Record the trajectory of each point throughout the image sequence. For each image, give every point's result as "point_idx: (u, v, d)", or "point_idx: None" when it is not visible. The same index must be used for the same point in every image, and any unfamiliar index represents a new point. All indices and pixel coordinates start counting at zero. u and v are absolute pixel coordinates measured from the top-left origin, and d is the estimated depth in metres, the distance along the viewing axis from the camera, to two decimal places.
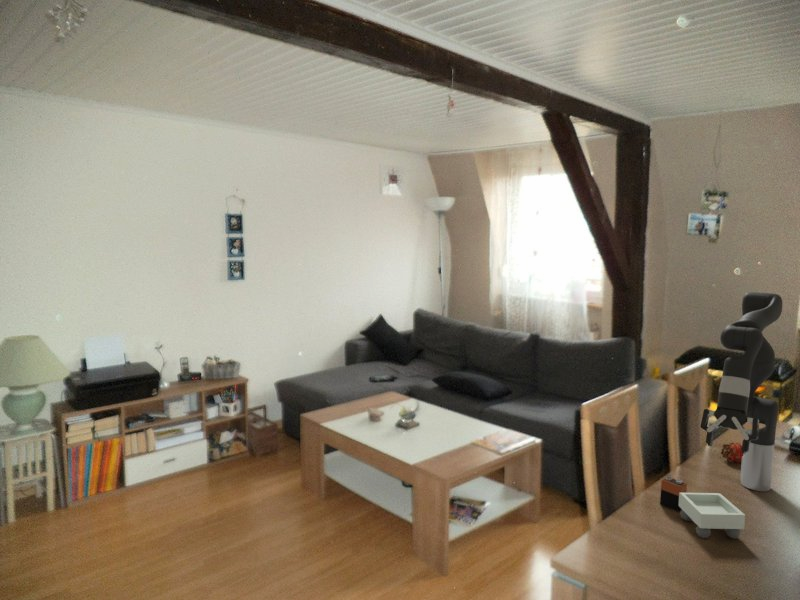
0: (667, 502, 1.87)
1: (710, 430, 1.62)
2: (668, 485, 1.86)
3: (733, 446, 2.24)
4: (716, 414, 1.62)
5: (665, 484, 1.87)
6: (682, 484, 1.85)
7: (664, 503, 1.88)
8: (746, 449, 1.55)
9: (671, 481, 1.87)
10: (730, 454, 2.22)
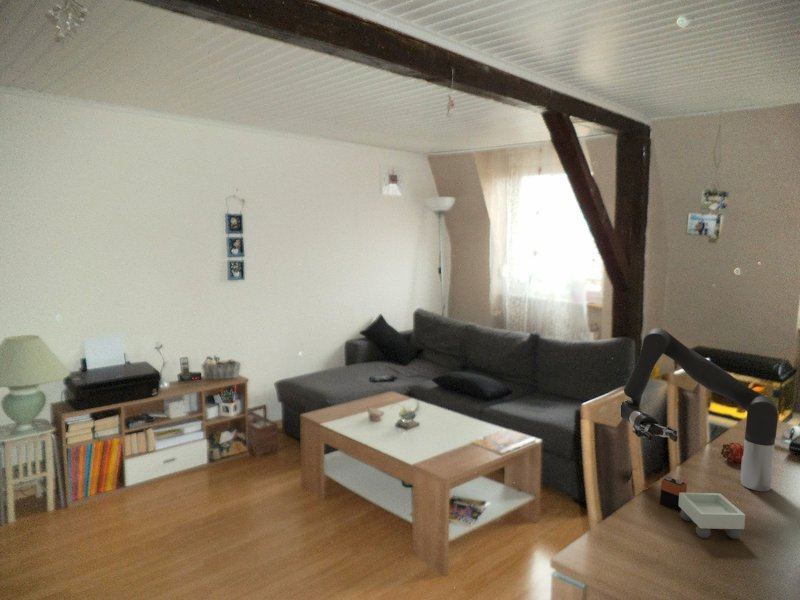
0: (667, 502, 1.87)
1: (669, 437, 2.00)
2: (668, 485, 1.86)
3: (733, 446, 2.24)
4: None
5: (665, 484, 1.87)
6: (682, 484, 1.85)
7: (664, 503, 1.88)
8: None
9: (671, 481, 1.87)
10: (730, 454, 2.22)
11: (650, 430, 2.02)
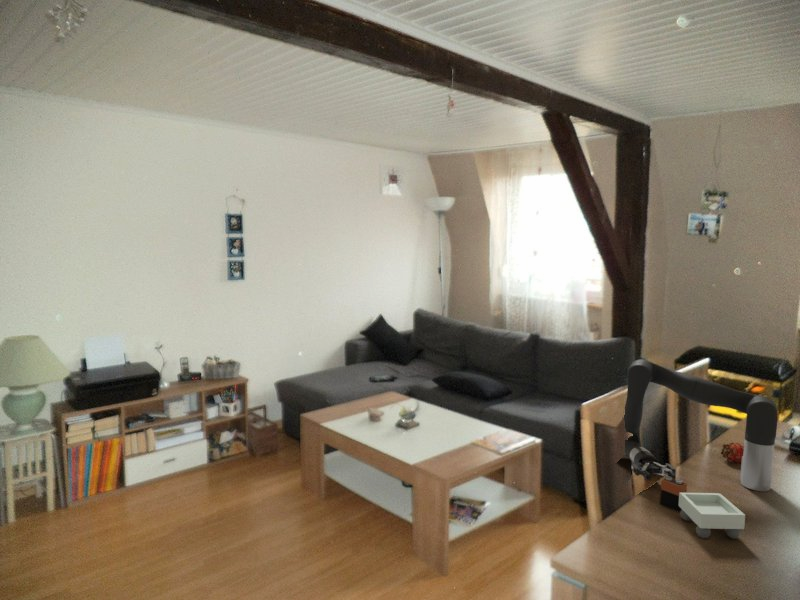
0: (667, 502, 1.87)
1: None
2: (668, 485, 1.86)
3: (733, 446, 2.24)
4: None
5: (665, 484, 1.87)
6: (682, 484, 1.85)
7: (664, 503, 1.88)
8: None
9: (671, 481, 1.87)
10: (730, 454, 2.22)
11: (649, 468, 2.03)
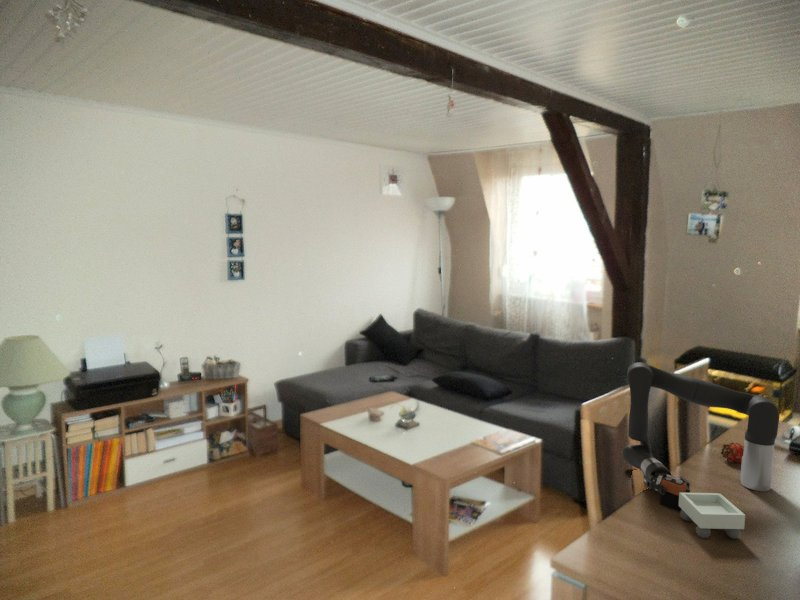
0: (667, 502, 1.87)
1: None
2: (668, 485, 1.86)
3: (733, 446, 2.24)
4: None
5: (665, 484, 1.87)
6: (682, 484, 1.85)
7: (664, 503, 1.88)
8: None
9: (671, 481, 1.87)
10: (730, 454, 2.22)
11: None
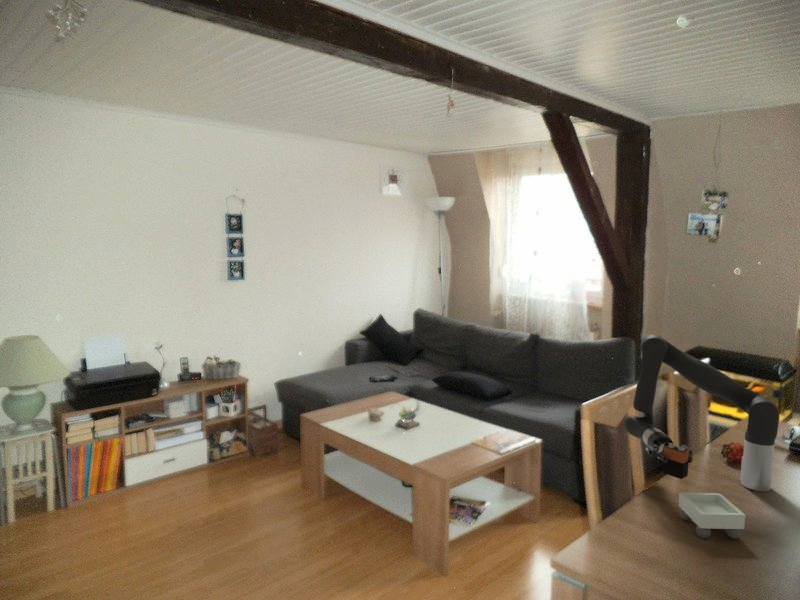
0: (669, 469, 1.86)
1: None
2: (671, 453, 1.85)
3: (733, 446, 2.24)
4: None
5: (667, 452, 1.86)
6: (684, 451, 1.83)
7: (666, 471, 1.87)
8: None
9: (673, 448, 1.85)
10: (730, 454, 2.22)
11: None
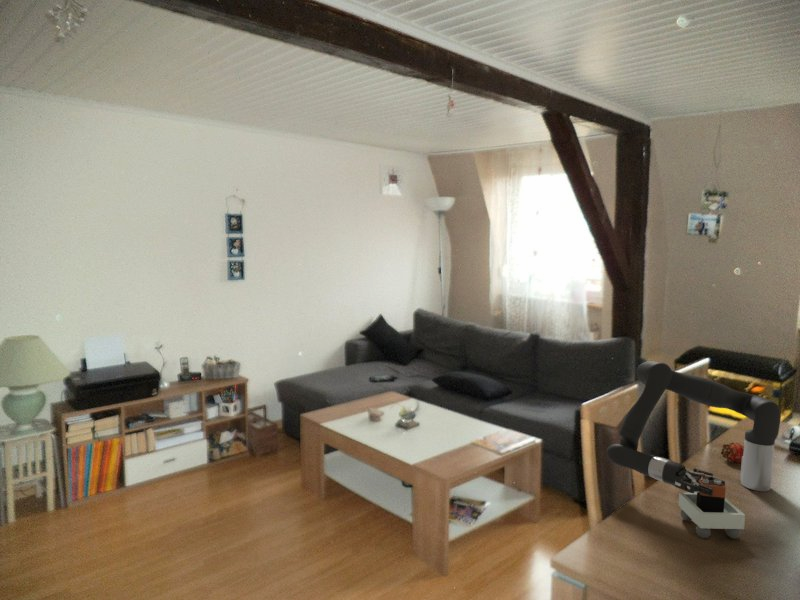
0: (709, 507, 1.71)
1: None
2: None
3: (733, 446, 2.24)
4: None
5: None
6: (722, 484, 1.72)
7: (706, 510, 1.72)
8: None
9: (711, 484, 1.72)
10: (730, 454, 2.22)
11: None
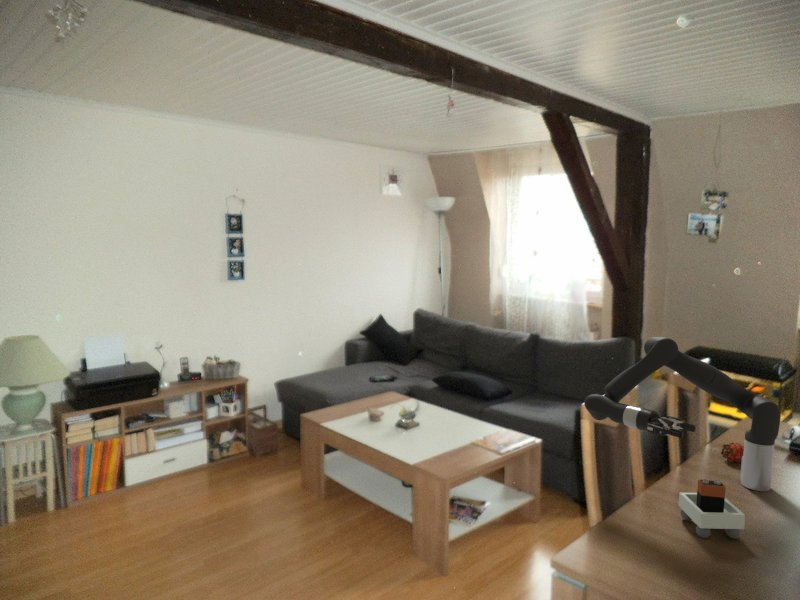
0: (709, 507, 1.71)
1: (681, 428, 1.83)
2: (711, 489, 1.71)
3: (733, 446, 2.24)
4: None
5: (707, 489, 1.71)
6: (722, 484, 1.72)
7: (706, 510, 1.72)
8: None
9: (711, 484, 1.72)
10: (730, 454, 2.22)
11: None
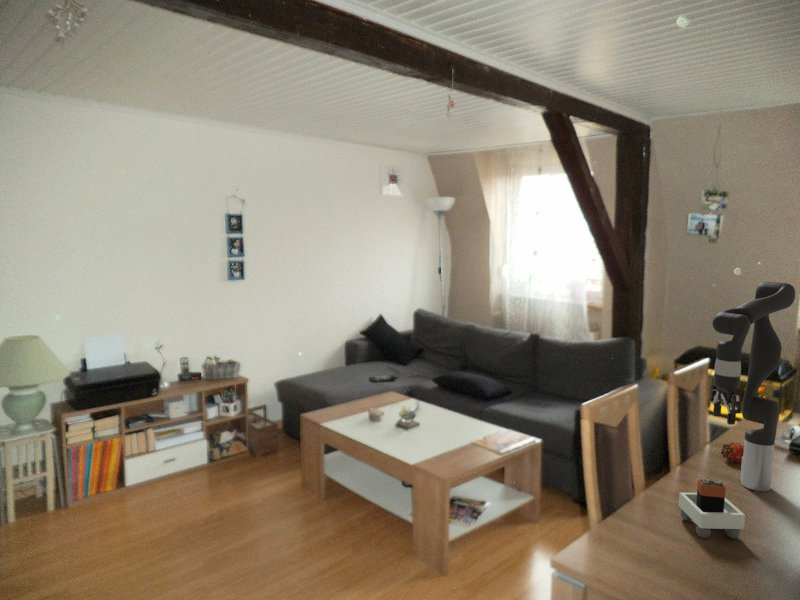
0: (709, 507, 1.71)
1: (714, 403, 1.90)
2: (711, 489, 1.71)
3: (733, 446, 2.24)
4: (716, 390, 1.88)
5: (707, 489, 1.71)
6: (722, 484, 1.72)
7: (706, 510, 1.72)
8: (730, 421, 1.81)
9: (711, 484, 1.72)
10: (730, 454, 2.22)
11: (730, 403, 1.83)
